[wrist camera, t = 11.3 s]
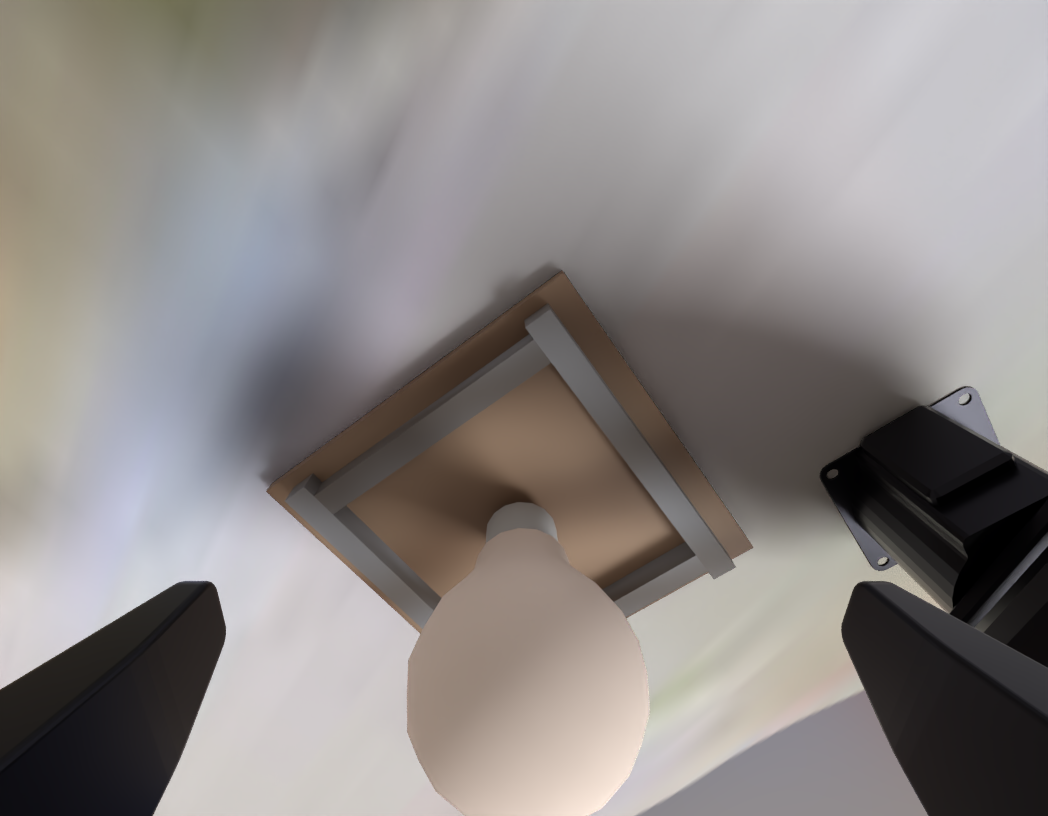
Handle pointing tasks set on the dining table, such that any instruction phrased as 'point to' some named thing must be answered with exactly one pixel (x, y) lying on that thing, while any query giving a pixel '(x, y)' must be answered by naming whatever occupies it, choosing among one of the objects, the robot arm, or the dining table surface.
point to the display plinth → (516, 468)
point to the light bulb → (526, 681)
